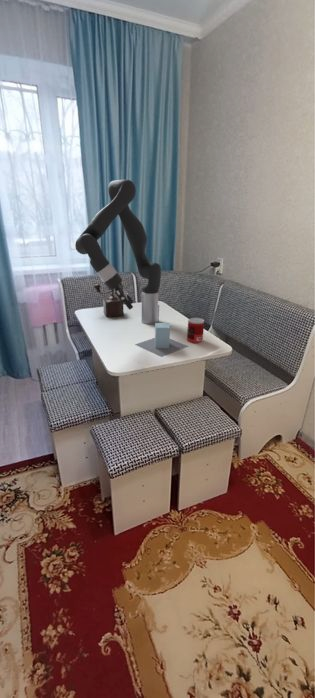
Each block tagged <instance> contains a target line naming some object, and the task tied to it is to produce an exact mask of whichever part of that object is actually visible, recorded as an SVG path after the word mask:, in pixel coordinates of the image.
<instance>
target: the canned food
mask: <svg viewBox="0 0 315 698" xmlns="http://www.w3.org/2000/svg"><path fill="white" fill-rule="evenodd" d="M204 329H205V319H203V318H200V317H190V318H188V321H187V333H186V334H187V335H186V341H187V342H188V343H191V344H200V343H202V342H203V341H204V340H203V338H204V331H205V330H204Z"/></svg>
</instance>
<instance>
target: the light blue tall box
mask: <svg viewBox="0 0 315 698" xmlns="http://www.w3.org/2000/svg"><path fill="white" fill-rule="evenodd" d="M170 334H171V327H170V323H169V322H157V323H154V338H155V348H169V340H170V339H171V337H170V336H171V335H170Z"/></svg>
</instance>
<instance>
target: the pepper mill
mask: <svg viewBox="0 0 315 698" xmlns="http://www.w3.org/2000/svg"><path fill="white" fill-rule="evenodd" d="M93 289H95V291H96V292H95V293H98V294H100V295H105V294H109V293H111V294H110V296H108V297H103V298H102V302H103V303H102V305H103V312H102V313H103V315H104V316H105V317H106V318H116V317H117V318H119V317H124V303H122V302H121V300H120V299H119V298H118V296H117V295H114V294H115V289H112V290H107V291H103V292H102V291H101V285H100V284H99V283H96V284H94V286H93Z"/></svg>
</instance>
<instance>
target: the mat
mask: <svg viewBox="0 0 315 698" xmlns="http://www.w3.org/2000/svg"><path fill="white" fill-rule="evenodd" d="M135 346H137V347H139V348H141V349H143V350H146V351H147V352H150V353H153V354H155V355H156V356H158V357H161V358H163V357H165V356H168V355H170V354H172V353H173V354H174V353H175V352H178V351H180V350H183V349H185V348H188V347H189V345H187V344H184V343H182V342H179V341H176V340H175V339H171V338H170V340H169V348H155V337H154V338H150V339H146V340H144V341H140V342H138V343H135Z"/></svg>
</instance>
